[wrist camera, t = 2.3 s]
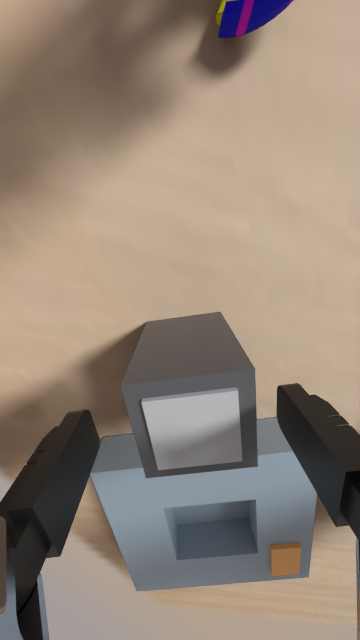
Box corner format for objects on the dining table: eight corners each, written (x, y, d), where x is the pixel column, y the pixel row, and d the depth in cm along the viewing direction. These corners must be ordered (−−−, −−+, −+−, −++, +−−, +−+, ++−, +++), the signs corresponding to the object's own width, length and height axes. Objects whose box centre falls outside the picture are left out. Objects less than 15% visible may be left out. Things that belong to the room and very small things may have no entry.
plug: (220, 311, 14) (256, 372, 8) (225, 375, 16) (259, 471, 9) (146, 321, 15) (118, 388, 8) (159, 383, 16) (145, 483, 9)
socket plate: (298, 414, 17) (324, 452, 14) (292, 535, 23) (310, 582, 19) (103, 437, 18) (87, 477, 15) (141, 548, 23) (136, 596, 20)
